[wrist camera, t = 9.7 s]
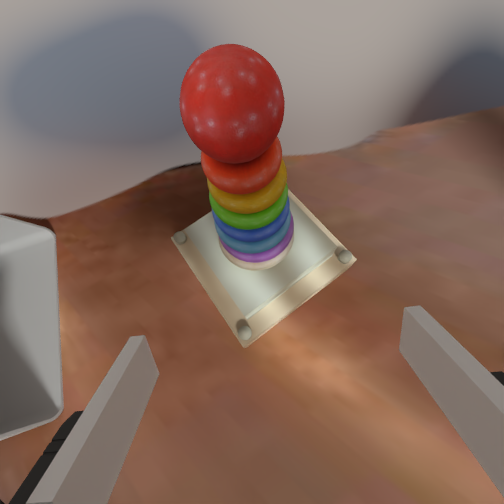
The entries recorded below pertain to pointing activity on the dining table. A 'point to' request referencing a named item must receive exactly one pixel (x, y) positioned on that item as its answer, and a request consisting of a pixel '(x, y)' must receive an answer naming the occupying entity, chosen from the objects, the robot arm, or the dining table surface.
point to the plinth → (278, 304)
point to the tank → (28, 328)
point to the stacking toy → (241, 152)
